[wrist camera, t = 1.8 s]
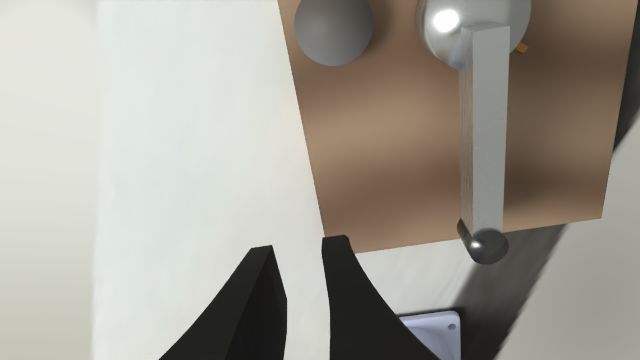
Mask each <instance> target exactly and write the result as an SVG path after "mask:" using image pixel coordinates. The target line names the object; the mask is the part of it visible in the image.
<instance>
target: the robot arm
mask: <svg viewBox="0 0 640 360" xmlns="http://www.w3.org/2000/svg"><path fill="white" fill-rule="evenodd" d="M322 259H323V265H324V272H325V278H326V284H327V291H328V297H329V306H330V332H329V334H330V360H461V345H460V318H459V315H458V313H457V312H455V311H444V312H437V313H429V314H422V315H414V316H406V317H399V318H398V317H397V316H396V314H395V313H394V312H393V311H392V310H391V308H390V307H389V306H388V305H387V303H386V302H385V301H384V300H383V298H382V297H381V296H380V294H379V293H378V292H377V290H376V289H375V287H374V286H373V285H372V283H371V282H370V280H369V278H368V277H367V275H366V274H365V272H364V271H363V269H362V267H361V266H360V264H359V262H358V260H357V258H356V256H355V254H354V252H353V250H352V247H351V245H350V241H349V237H347V236H346V235H337V236H330V237H323V239H322ZM450 324H452V325H450ZM286 335H287V298H286V294H285V290H284V287H283V283H282V279H281V276H280V272H279V268H278V265H277V261H276V258H275V254H274V250H273V247H272V245H269V246H262V247H255V248H251V249H250V250H249V252H248V253H247V254H246V256H245V257H244V258H243V260H242V261H241V263H240V264H239V265H238V267H237V268H236V270H235V271H234V272H233V274H232V275H231V276H230V278H229V279H228V281H227V282H226V283H225V285H224V286H223V287H222V289H221V290H220V291H219V293H218V294H217V295H216V297H215V298H214V299H213V300H212V302H211V303H210V304H209V305H208V307H207V308H206V309H205V310H204V311H203V313H202V314H201V315H200V316H199V317H198V319H197V320H196V321H195V322H194V323H193V325H192V326H191V327H190V328H189V329H188V330H187V331H186V332H185V333H184V334H183V335H182V337H181V338H180V339H179V340H178V341H177V342H176V343H175V344H174V345H173V346H172V347H171V348H170V349H169V350H168V351H167V352H166V353H165V354H164V355H163V356H162V357H161V358H160V359H159V360H283V358H284V351H285V343H286Z"/></svg>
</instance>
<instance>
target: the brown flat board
mask: <svg viewBox="0 0 640 360" xmlns="http://www.w3.org/2000/svg"><path fill="white" fill-rule="evenodd" d="M417 1H418V0H278V5H279V10H280V15H281V20H282V25H283V30H284V35H285V40H286V45H287V50H288V55H289V60H290V65H291V70H292V75H293V80H294V85H295V90H296V95H297V100H298V105H299V110H300V115H301V120H302V125H303V130H304V135H305V140H306V145H307V149H308V154H309V159H310V164H311V169H312V174H313V179H314V184H315V189H316V194H317V199H318V204H319V209H320V214H321V219H322V224H323V229H324V234H325V237H330V236H337V235H346V236H347V237H349V241H350V245H351V247H352V250H353V252H354V254H356V253H363V252H370V251H377V250H384V249H391V248H398V247H405V246H412V245H419V244H426V243H433V242H440V241H447V240H454V239H460V236H459V234H458V232H457V223H458V221H459V219H460V218H461V198H460V138H459V78H458V69H455V68H453V67H451V66H449V65H447V64H445V63H444V62H443V61H441V60H440V59H438V58H437V57H435V56H434V55H432V54H431V53H429V52H428V51H427V50H426V49H425V48H424V46H423V45H422V44H421V42H420V40H419V38H418V36H417V33H416V29H415V22H414V16H415V8H416V4H417ZM637 3H638V0H531V13H530V19H529V23H528V26H527V29H526V31H525V33H524V35H523V37H522V39H521V41H520V42H519V44H518V45H517V46H516V47H515V49H514V50H513V51H512V52H511V53H510V54H509V73H508V98H507V124H506V150H505V176H504V201H503V227H502V232H509V231H516V230H523V229H530V228H537V227H544V226H551V225H558V224H565V223H572V222H579V221H585V220H592V219H600V218H601V217H602V211H603V205H604V199H605V193H606V187H607V180H608V175H609V169H610V163H611V157H612V151H613V146H614V140H615V134H616V128H617V122H618V116H619V110H620V104H621V98H622V92H623V86H624V80H625V74H626V68H627V63H628V57H629V51H630V45H631V39H632V33H633V27H634V21H635V15H636V9H637Z"/></svg>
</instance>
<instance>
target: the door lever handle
mask: <svg viewBox="0 0 640 360" xmlns="http://www.w3.org/2000/svg"><path fill="white" fill-rule="evenodd" d="M530 13H531V0H418V1H417V4H416V8H415V16H414V22H415V29H416V33H417V36H418V38H419V40H420V42H421V44H422V45H423V46H424V48H425V49H426V50H427V51H428V52H429V53H431V54H432V55H434V56H435V57H437V58H438V59H440V60H441V61H443V62H444V63H445V64H447V65H449V66H451V67H453V68H455V69H458V78H459V138H460V198H461V218H460V219H459V221H458V223H457V232H458V234H459V236H460V238H461V240H462V241H463V243H464V245H465V247H466V249H467V251H468V252H469V254H470V256H471V258H472V259H473V260H474V261H475V262H477V263H479V264H492V263H495V262H497V261H499V260H501V259H502V258H503V257H504V256H505V255H506V253H507V251H508V248H509V244H508V241H507V239H506V238H505V236H504V235H503V234H502V227H503V201H504V176H505V150H506V124H507V98H508V73H509V54H510V53H511V52H512V51H513V50H514V49H515V47H516V46H517V45H518V44H519V42H520V41H521V39H522V37H523V35H524V33H525V31H526V29H527V26H528V23H529V19H530Z"/></svg>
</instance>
